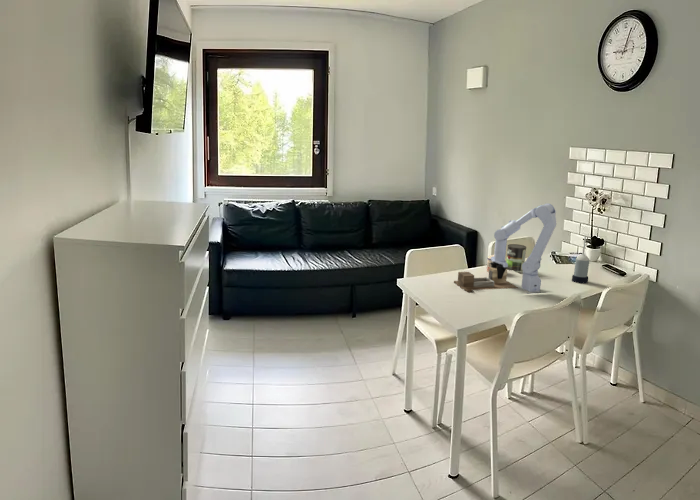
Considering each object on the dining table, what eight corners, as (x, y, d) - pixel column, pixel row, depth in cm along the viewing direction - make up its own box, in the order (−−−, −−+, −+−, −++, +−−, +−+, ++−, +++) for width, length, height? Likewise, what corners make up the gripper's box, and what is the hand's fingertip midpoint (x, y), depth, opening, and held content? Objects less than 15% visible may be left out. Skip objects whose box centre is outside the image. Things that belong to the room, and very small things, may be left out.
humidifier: (579, 278, 297) (585, 233, 292) (591, 282, 290) (597, 237, 284) (568, 279, 294) (573, 234, 289) (579, 284, 287) (585, 237, 281)
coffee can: (513, 273, 305) (516, 248, 302) (501, 268, 314) (503, 244, 311) (527, 271, 309) (530, 247, 306) (515, 267, 318) (517, 243, 315)
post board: (518, 289, 273) (519, 276, 272) (466, 292, 267) (468, 278, 266) (502, 280, 289) (504, 268, 287) (453, 282, 282) (454, 269, 281)
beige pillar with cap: (506, 282, 282) (507, 269, 281) (491, 282, 280) (492, 269, 279) (502, 280, 286) (503, 267, 285) (487, 280, 284) (488, 267, 283)
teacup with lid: (482, 272, 304) (484, 252, 301) (493, 270, 309) (495, 250, 306) (499, 277, 294) (501, 256, 292) (510, 275, 300) (512, 255, 297)
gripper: (486, 248, 286) (484, 273, 289) (499, 255, 272) (497, 281, 275) (498, 248, 287) (496, 273, 290) (512, 255, 274) (509, 281, 277)
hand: (497, 277), depth 283 cm, fingers closed on beige pillar with cap, 4 cm apart
